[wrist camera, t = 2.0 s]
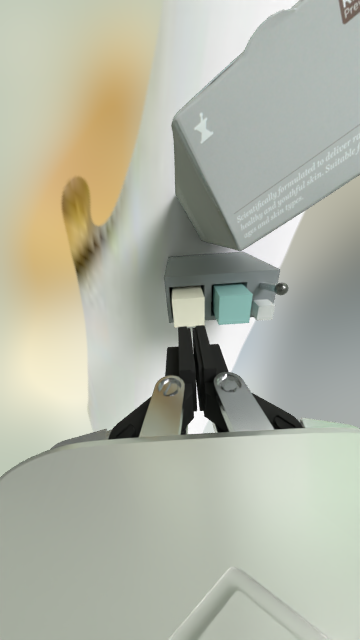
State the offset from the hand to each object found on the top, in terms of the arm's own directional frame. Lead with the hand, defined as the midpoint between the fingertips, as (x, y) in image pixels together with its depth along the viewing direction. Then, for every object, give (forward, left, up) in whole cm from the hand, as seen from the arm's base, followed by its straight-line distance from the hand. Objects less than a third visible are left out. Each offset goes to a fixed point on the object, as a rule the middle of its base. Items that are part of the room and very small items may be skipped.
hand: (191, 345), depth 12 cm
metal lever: (-2, +7, -6) cm, 9 cm away
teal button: (0, +4, -7) cm, 8 cm away
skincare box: (-10, +5, -16) cm, 19 cm away
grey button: (0, +7, -6) cm, 9 cm away
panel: (-1, +3, -16) cm, 16 cm away
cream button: (0, 0, -7) cm, 7 cm away
